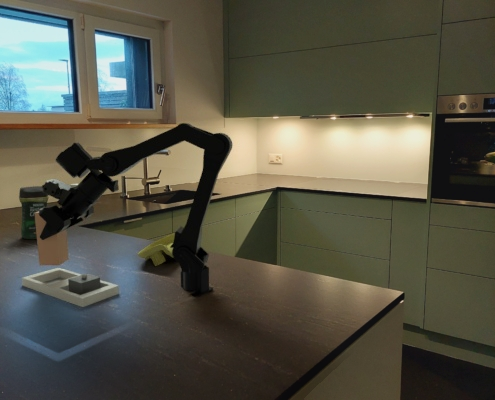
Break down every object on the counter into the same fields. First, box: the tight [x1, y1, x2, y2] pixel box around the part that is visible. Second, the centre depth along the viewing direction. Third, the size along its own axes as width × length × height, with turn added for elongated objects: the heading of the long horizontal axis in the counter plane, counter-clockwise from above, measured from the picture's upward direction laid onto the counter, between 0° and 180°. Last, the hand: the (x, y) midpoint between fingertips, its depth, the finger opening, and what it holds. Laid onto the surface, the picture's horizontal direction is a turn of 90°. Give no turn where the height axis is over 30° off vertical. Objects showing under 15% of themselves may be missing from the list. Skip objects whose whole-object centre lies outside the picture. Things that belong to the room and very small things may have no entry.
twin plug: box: [68, 273, 101, 295], centre depth 107 cm, size 5×5×5 cm
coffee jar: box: [18, 185, 49, 240], centre depth 166 cm, size 10×8×19 cm
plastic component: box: [137, 233, 175, 267], centre depth 139 cm, size 20×7×10 cm
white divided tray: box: [21, 267, 120, 308], centre depth 111 cm, size 24×10×3 cm, turn 55°
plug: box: [35, 206, 70, 266], centre depth 112 cm, size 5×5×14 cm
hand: (46, 235), depth 112 cm, fingers closed on plug, 5 cm apart
